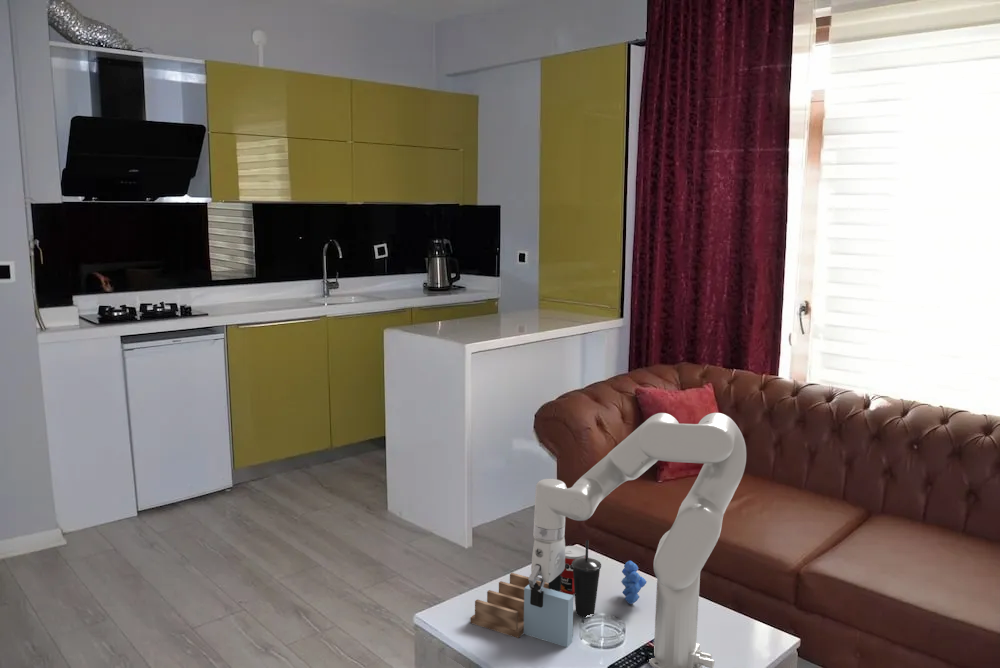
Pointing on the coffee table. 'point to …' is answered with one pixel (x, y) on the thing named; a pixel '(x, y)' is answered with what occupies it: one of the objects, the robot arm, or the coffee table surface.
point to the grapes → (632, 582)
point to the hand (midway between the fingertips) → (545, 597)
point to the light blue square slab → (549, 617)
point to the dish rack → (504, 607)
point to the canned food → (570, 568)
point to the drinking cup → (585, 583)
